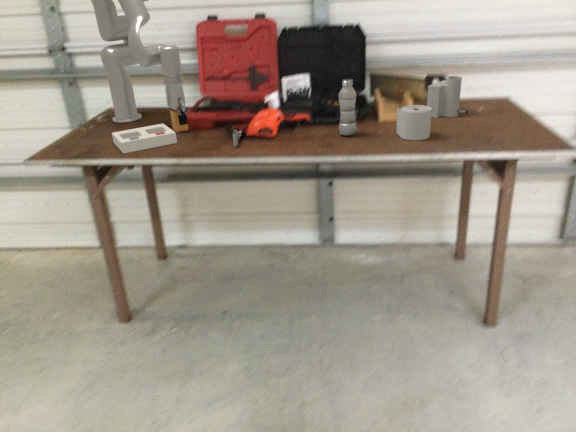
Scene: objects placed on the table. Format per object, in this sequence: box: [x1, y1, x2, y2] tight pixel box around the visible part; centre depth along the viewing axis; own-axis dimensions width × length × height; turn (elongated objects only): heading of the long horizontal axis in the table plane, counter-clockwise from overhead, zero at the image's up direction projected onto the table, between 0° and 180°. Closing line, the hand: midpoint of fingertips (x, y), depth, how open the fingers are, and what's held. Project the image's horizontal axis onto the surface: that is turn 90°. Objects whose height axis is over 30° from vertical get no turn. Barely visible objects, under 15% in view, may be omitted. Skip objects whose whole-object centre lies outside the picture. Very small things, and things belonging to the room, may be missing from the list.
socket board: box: [111, 122, 178, 154], centre depth 193 cm, size 16×20×5 cm
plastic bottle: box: [338, 78, 357, 136], centre depth 184 cm, size 6×7×20 cm
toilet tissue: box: [395, 104, 432, 141], centre depth 181 cm, size 11×12×10 cm
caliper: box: [232, 129, 242, 148], centre depth 190 cm, size 20×1×6 cm, turn 175°
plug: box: [169, 109, 189, 133], centre depth 206 cm, size 5×5×8 cm
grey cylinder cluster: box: [426, 75, 469, 119], centre depth 202 cm, size 12×14×15 cm
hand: (179, 121), depth 206 cm, fingers open, 9 cm apart
